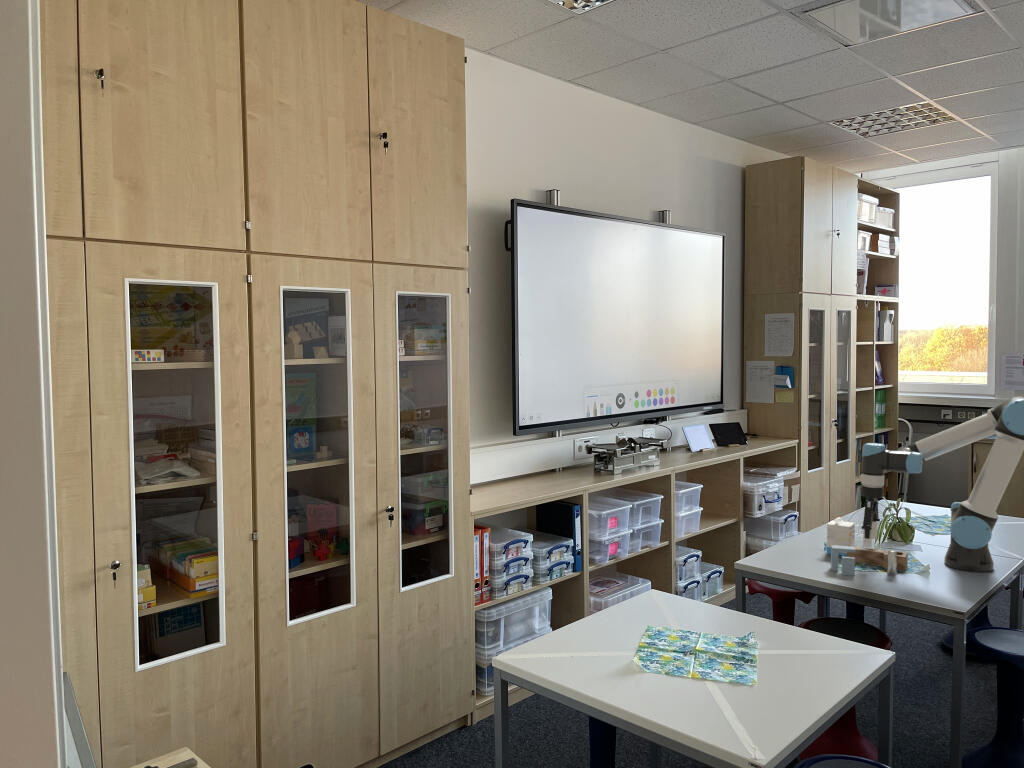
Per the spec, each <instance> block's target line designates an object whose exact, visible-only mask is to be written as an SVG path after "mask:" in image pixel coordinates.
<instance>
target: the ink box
mask: <svg viewBox="0 0 1024 768" xmlns="http://www.w3.org/2000/svg"><path fill="white" fill-rule="evenodd" d="M855 524H856V523H855V522H851V521H844V520H843V518H842V517H840V516H838V517H836V518H834V519H832V520H831V521H829V522H828V523H827V524H826V554H827V555H831V545H837V546H854V547H856V546H855V545H856V543H855V542H856V541H855V539H856V538H855V533H856V532H855V531H856V525H855ZM838 556H841V557H842V556H847V552H842V551H838Z"/></svg>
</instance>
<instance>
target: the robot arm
mask: <svg viewBox="0 0 1024 768" xmlns="http://www.w3.org/2000/svg"><path fill="white" fill-rule="evenodd" d="M993 435H996V437H995V440H994V441H993V444H992V446H991V449H990V450H989V453H988V455H987V456H986V459H985V462H984V464H983V466H982V468H981V470H980V472H979V474H978V477H977V479H976V482H975V483H974V486H973V488H972V491H971V492H970V494H969V497H968V499H966V500H964V501H961V502H959V501H955V502H952V503H951V508H950V529H949V531H950V543H949V546H948V548H947V551H946V553H945V555H944V564H945V566H947V567H950V568H952V569H953V568H954V569H957V570H960V571H966V572H967V571H968V572H974V573H975V572H976V573H978V572H979V573H984V572H985V573H987V572H991V571H993V570H994V566H995V565H994V564H995V563H994V561H993V560H994V559H993V557H992V554H991V552H990V549H989V542H990V541H991V539H992V536H993V530H994V528H995V526H996V523H997V521H998V520H999V515H998V513H997V509H998V507H999V505H1000V502H1001V500H1002V498H1003V495H1004V494H1005V491H1006V490H1007V488H1008V485H1009V483H1010V481H1011V478H1012V477H1013V474H1014V473H1015V470H1016V467H1017V466H1018V463H1019V461H1020V460H1021V457H1022V455H1023V453H1024V396H1023V395H1022V396H1014V397H1011V398H1010V399H1007V400H1005V401H1004V402H1002V403H1001V404H998V405H996V406H993V407H992V408H989V409H988V410H987V412H986V413H984V414H981V415H980V416H977V417H974V418H971V419H970V420H967V421H964V422H962V423H960V424H957V425H954V426H953V427H949V428H948V429H945V430H942V431H940V432H938V433H935V434H932V435H931V436H927V437H924V438H923V439H919V440H918V441H916V442H913V443H910V444H907V445H903V446H901V447H899V448H898V449H896V450H889V449H887V448H886V445H885V444H883V443H877V442H868V443H867V442H866V443H865V444H863V445H862V454H861V475H859V478H860V479H861V482H860V483H861V485H860V495H861V496H862V497H864V498H867V499H866V500H865V502H864V514H863V522H862V526H861V529H863V535H862V539H863V540H862V548H869V549H872V544H873V540H878V527H879V526H878V524H879V523H878V522H881V518H879V499H881V498H883V497H884V492H885V491H884V489H885V488H884V486H885V472H897V473H907V474H921V473H922V472H923V462H925V461H928V460H929V461H930V460H931V459H934V458H936V457H939V456H941V455H943V454H947V453H950V452H952V451H955V450H957V449H959V448H962V447H966V446H967V445H970V444H973V443H975V442H978V441H981V440H984V439H986V438H988V437H991V436H993Z"/></svg>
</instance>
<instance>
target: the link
mask: <svg viewBox="0 0 1024 768" xmlns="http://www.w3.org/2000/svg"><path fill="white" fill-rule="evenodd" d="M851 547H854V546H851ZM854 548H855V552H847V557H854V558H855V562H858V563H859V564H863V563H865V565H871V566H877V567H883V569H888V551H889V550H890V549H885V550H883V549H875V548H869V547H863V546H862V547H861V546H855V547H854ZM892 551H894V550H893V549H892ZM895 551H896V552H897V570H896V571H904V572H906V570H907V568H908V562H909V561H908V559H909V557H908V556H909V555H908V554H909V553H908V551H901V550H900V551H899V550H895ZM858 563H857V564H858Z"/></svg>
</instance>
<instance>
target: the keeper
mask: <svg viewBox="0 0 1024 768" xmlns="http://www.w3.org/2000/svg"><path fill="white" fill-rule="evenodd" d="M838 551H842V552H855V548H854V547H851V546H837V545H831V554H830V558H831V559H830V569H831V571H832V572H839V555H838ZM841 575H843V576H844V575H845V576H855V575H856V563H855V558H854V557H847V556H841Z"/></svg>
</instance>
